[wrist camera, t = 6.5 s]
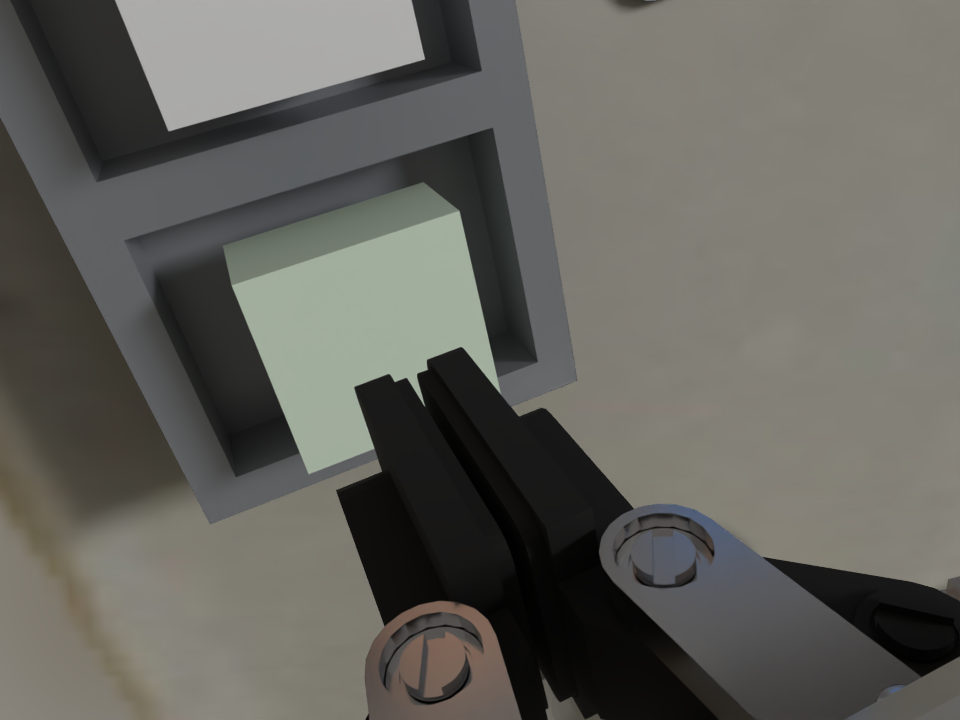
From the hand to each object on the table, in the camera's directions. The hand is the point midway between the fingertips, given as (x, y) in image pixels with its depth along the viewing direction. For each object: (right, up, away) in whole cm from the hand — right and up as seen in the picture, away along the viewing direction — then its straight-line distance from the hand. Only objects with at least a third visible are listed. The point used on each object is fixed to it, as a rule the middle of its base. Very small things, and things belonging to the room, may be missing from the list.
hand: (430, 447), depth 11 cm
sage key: (-2, +3, +7) cm, 7 cm away
